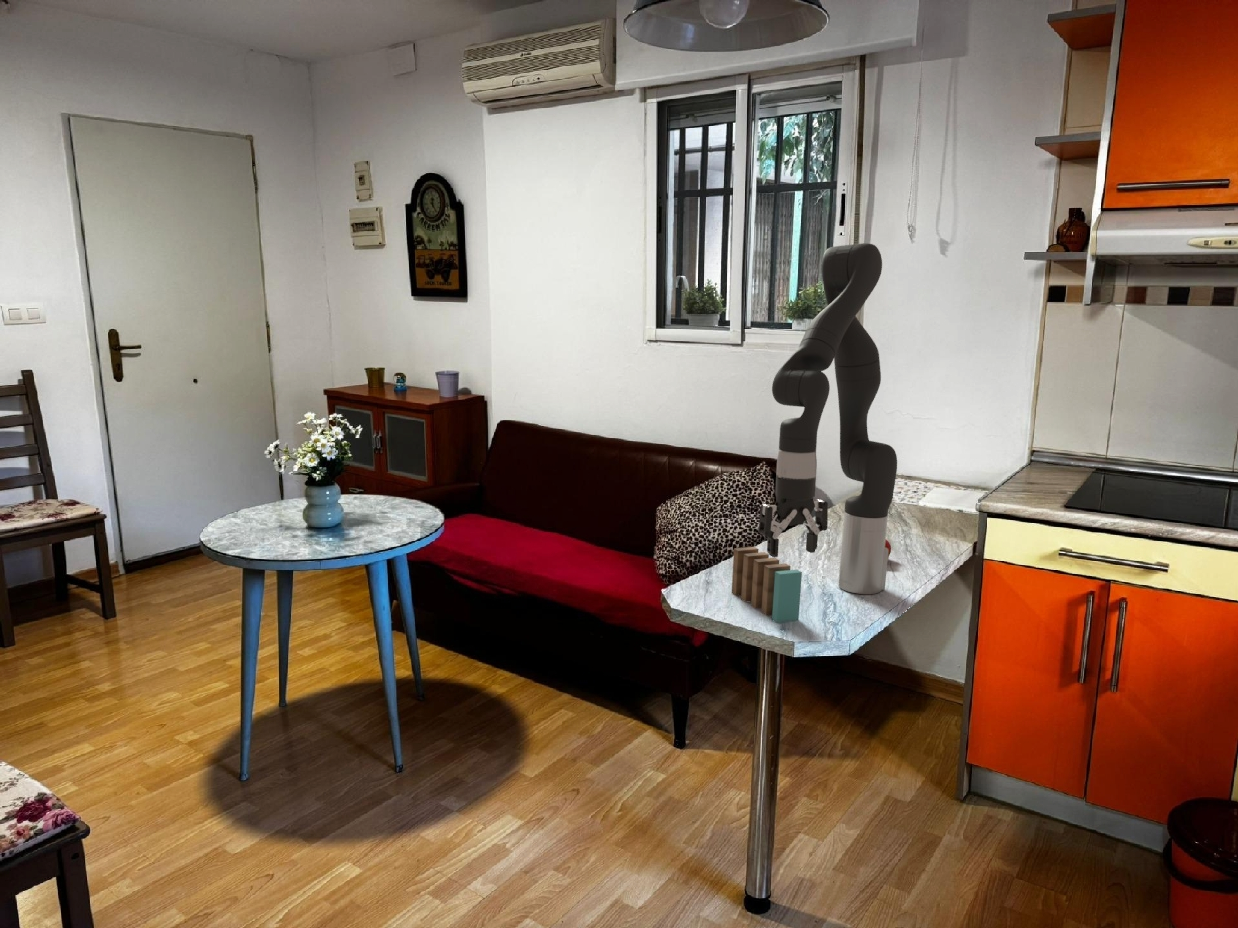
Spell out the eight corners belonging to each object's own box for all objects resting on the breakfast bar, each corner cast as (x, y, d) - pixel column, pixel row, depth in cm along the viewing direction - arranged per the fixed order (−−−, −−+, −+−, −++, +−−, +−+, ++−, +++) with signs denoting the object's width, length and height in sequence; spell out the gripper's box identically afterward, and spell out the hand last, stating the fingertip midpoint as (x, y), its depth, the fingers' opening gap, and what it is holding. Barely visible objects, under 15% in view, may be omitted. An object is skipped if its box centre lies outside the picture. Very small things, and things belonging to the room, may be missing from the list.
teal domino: (793, 617, 172) (796, 569, 170) (798, 620, 170) (801, 572, 168) (772, 619, 170) (775, 571, 168) (776, 622, 168) (780, 574, 166)
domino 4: (782, 610, 176) (785, 563, 174) (787, 613, 174) (790, 565, 172) (761, 612, 174) (764, 565, 172) (766, 615, 172) (769, 567, 170)
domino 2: (761, 596, 183) (764, 552, 181) (765, 599, 182) (768, 554, 180) (741, 599, 181) (743, 553, 180) (745, 601, 180) (748, 556, 178)
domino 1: (751, 590, 187) (754, 546, 185) (755, 593, 185) (758, 549, 184) (731, 592, 185) (734, 548, 183) (735, 595, 184) (738, 550, 182)
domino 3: (771, 603, 179) (774, 557, 178) (776, 606, 178) (779, 560, 176) (751, 605, 178) (753, 559, 176) (755, 608, 176) (758, 562, 174)
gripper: (816, 467, 170) (811, 545, 173) (754, 471, 165) (750, 552, 168) (838, 474, 164) (833, 555, 167) (774, 479, 158) (770, 563, 161)
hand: (791, 553), depth 167 cm, fingers open, 8 cm apart
